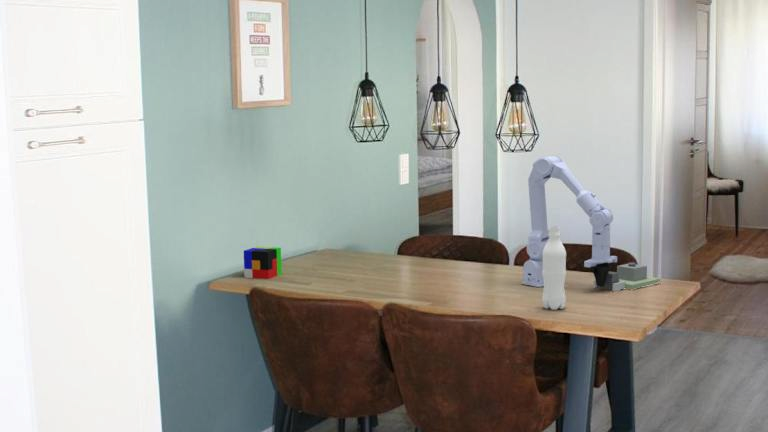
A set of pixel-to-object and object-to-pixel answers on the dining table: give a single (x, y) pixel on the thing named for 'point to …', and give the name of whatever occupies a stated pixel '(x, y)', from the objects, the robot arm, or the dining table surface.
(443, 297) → the dining table surface
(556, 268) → the water bottle
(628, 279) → the stepped base plate
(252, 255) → the puzzle toy
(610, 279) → the grey block
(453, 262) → the dining table surface
